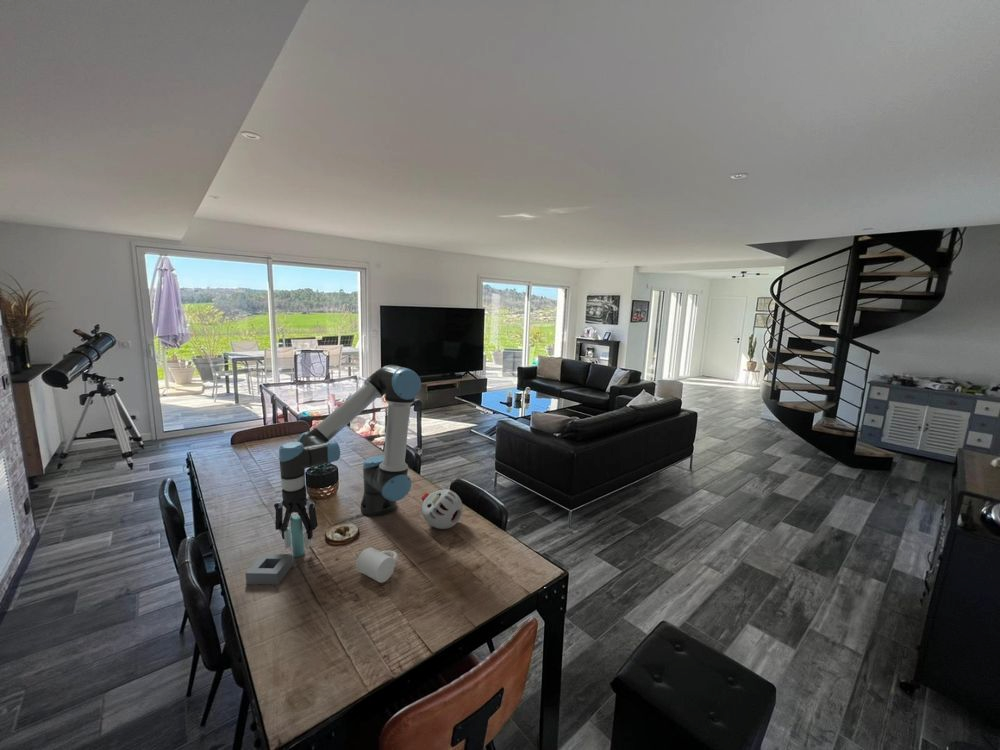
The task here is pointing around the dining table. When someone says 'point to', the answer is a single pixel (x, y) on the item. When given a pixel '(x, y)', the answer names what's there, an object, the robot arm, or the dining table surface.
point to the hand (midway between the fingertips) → (298, 546)
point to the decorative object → (442, 508)
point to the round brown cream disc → (341, 533)
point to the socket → (269, 569)
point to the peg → (297, 536)
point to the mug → (376, 564)
